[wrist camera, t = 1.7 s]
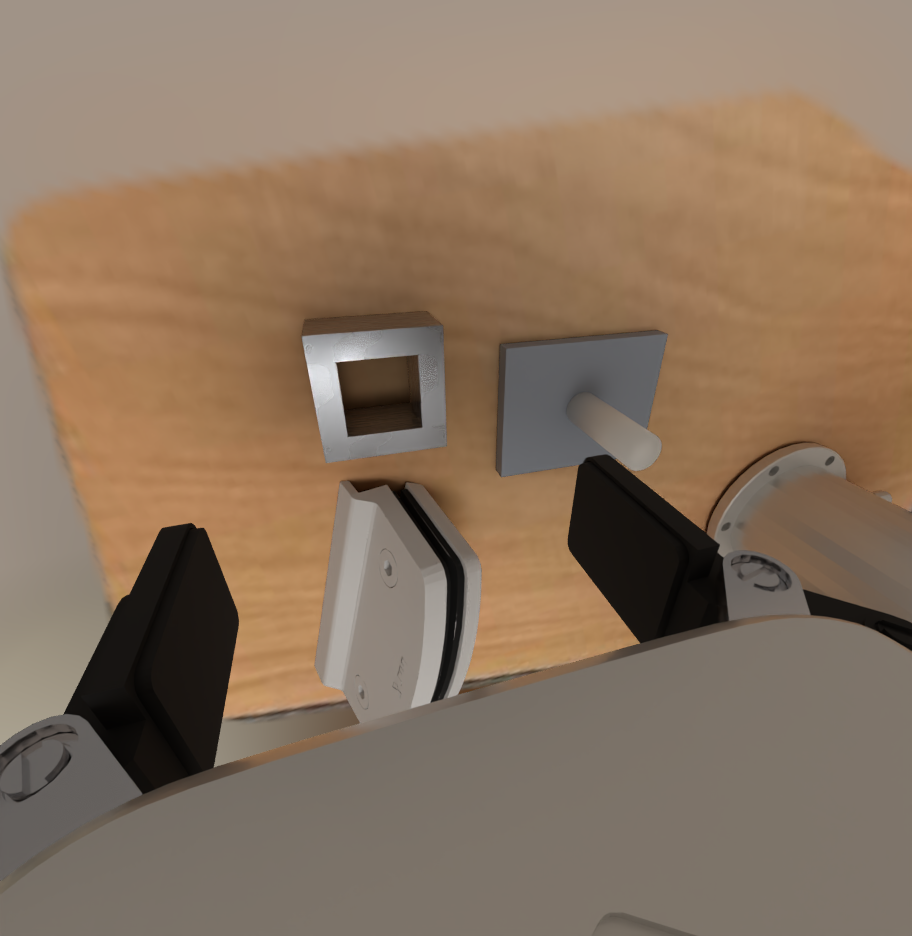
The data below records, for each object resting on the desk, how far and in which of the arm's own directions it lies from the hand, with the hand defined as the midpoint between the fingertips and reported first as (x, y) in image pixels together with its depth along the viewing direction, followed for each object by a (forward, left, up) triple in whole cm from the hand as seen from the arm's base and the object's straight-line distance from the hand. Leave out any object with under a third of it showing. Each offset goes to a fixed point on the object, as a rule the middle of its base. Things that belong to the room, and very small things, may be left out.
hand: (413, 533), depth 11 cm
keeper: (-12, +3, -14) cm, 19 cm away
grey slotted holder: (+1, +15, -14) cm, 21 cm away
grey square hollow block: (0, 0, -14) cm, 14 cm away
